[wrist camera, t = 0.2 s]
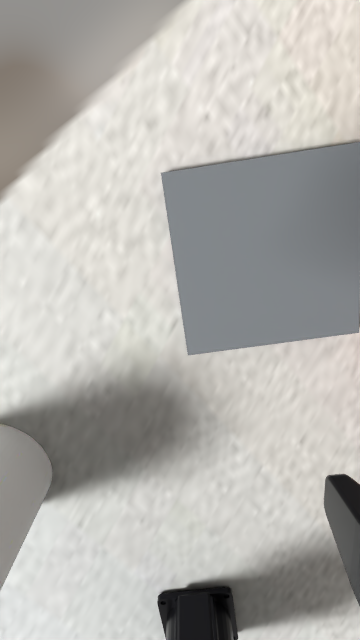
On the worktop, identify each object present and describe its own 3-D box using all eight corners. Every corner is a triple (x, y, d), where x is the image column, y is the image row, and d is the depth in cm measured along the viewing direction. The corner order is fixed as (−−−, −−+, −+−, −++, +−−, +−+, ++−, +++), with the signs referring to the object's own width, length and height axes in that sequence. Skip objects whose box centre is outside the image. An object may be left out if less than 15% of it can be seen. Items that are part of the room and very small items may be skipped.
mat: (354, 329, 21) (359, 332, 21) (187, 351, 22) (187, 355, 21) (357, 143, 18) (363, 141, 17) (161, 174, 18) (161, 172, 18)
